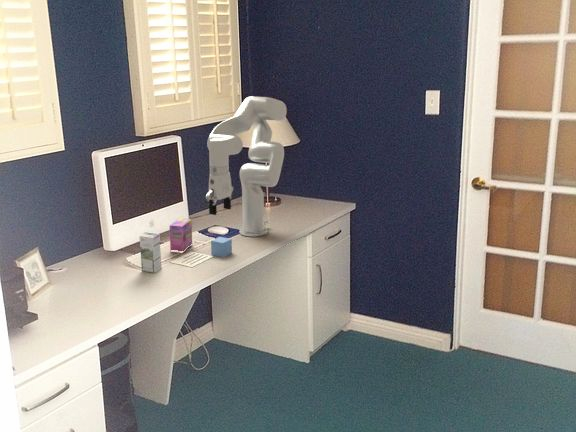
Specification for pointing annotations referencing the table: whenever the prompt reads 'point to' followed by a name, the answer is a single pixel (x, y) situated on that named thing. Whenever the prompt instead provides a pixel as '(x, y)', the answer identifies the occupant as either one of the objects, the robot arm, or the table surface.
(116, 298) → the table surface
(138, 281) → the table surface
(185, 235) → the box
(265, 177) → the robot arm
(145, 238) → the syrup box
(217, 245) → the blue cube
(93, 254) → the table surface
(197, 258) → the letter
